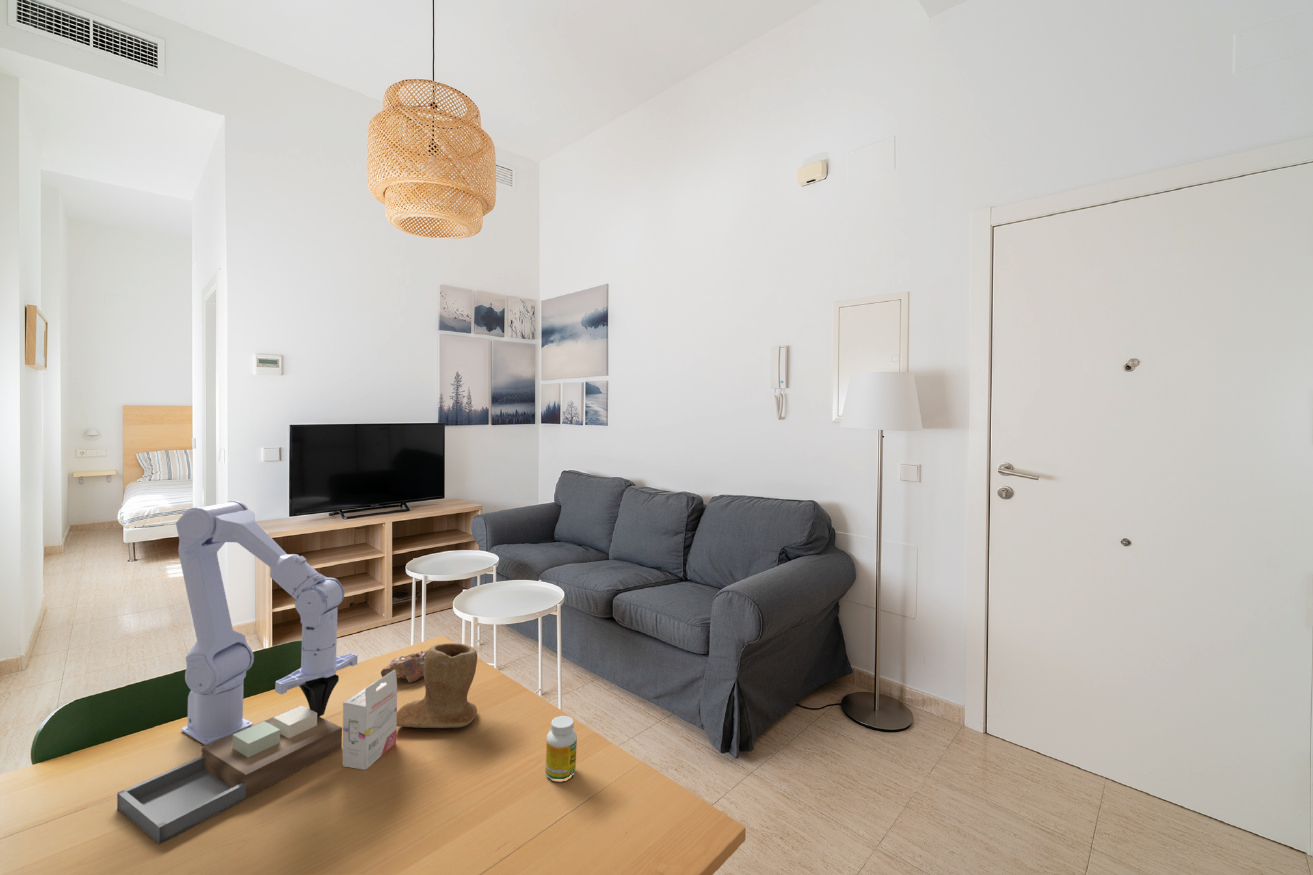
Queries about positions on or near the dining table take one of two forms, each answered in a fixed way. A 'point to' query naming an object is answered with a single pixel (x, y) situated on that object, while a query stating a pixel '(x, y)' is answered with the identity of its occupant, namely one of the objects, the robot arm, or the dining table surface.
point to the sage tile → (256, 739)
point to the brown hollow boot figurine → (443, 689)
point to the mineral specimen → (407, 666)
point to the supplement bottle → (561, 748)
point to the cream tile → (295, 721)
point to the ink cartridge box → (370, 723)
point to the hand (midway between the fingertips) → (317, 714)
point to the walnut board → (271, 757)
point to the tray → (177, 800)
